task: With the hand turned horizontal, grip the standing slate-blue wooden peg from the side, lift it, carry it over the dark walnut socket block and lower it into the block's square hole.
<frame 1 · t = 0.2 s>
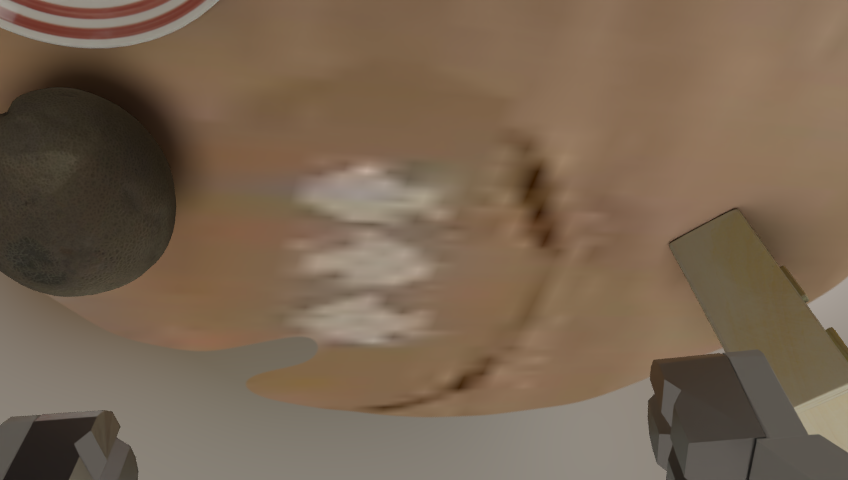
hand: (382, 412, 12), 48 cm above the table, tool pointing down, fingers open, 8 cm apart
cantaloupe: (108, 141, 62), on the table
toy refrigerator: (722, 251, 69), on the table
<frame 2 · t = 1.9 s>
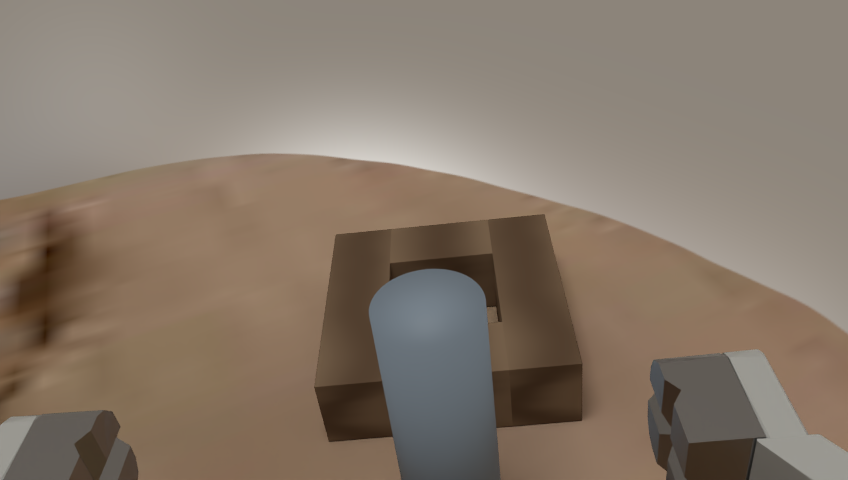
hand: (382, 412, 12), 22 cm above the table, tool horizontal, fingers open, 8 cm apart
socket: (449, 343, 45), on the table
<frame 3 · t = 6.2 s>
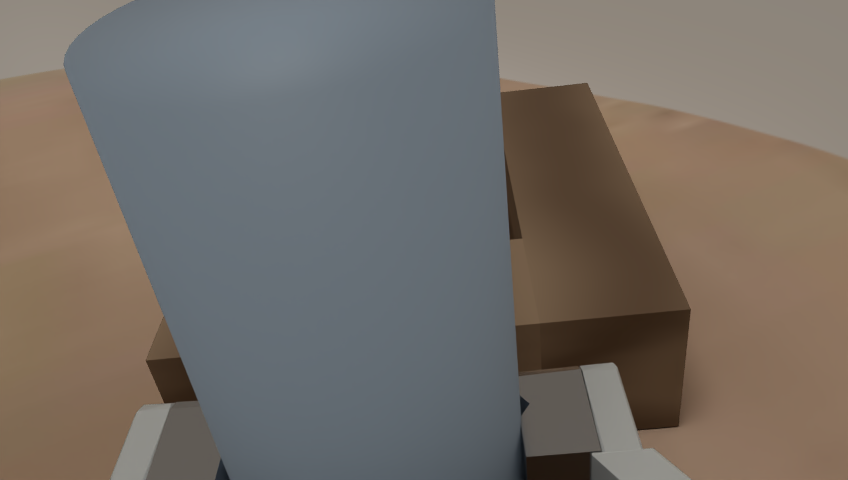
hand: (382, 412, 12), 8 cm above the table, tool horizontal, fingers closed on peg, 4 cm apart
socket: (427, 294, 26), on the table
when the fingers open (9 cm above the table, at t = 11.6 s): peg drops 2 cm, resting in socket.
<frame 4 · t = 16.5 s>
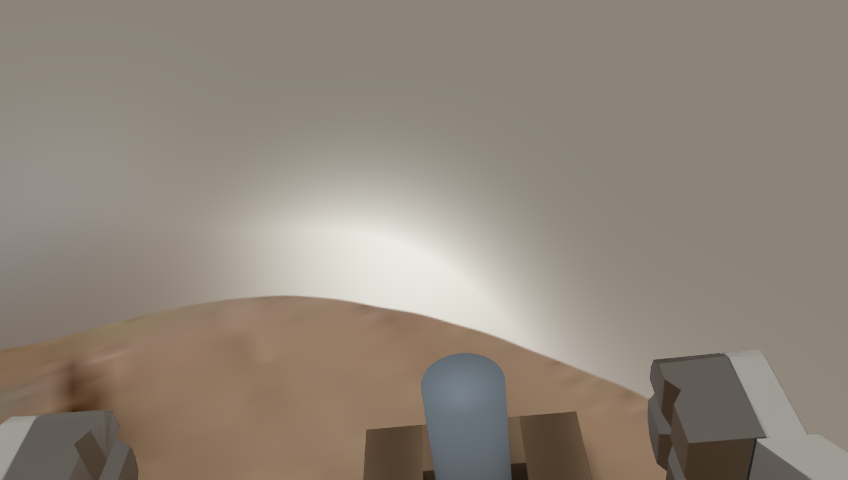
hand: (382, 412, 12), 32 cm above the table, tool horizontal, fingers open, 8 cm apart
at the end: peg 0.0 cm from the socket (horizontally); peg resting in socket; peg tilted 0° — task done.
